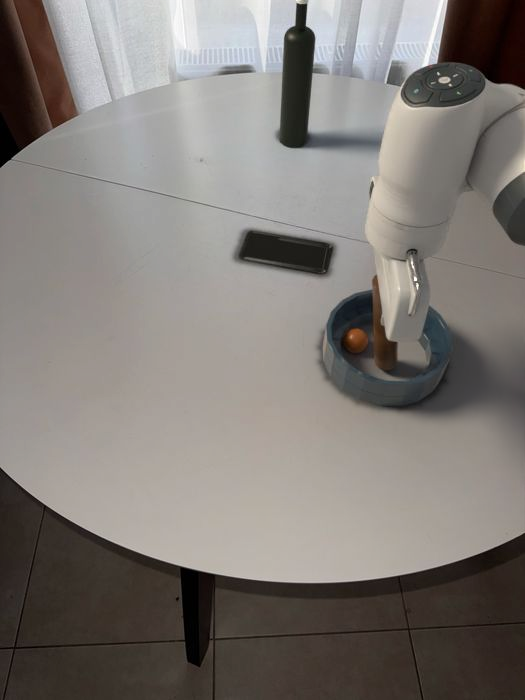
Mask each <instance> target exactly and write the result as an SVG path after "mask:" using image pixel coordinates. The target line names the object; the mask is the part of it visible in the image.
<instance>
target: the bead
mask: <svg viewBox="0 0 525 700" xmlns="http://www.w3.org/2000/svg"><path fill="white" fill-rule="evenodd" d="M342 342H343V346H344V348H345V349H346V350H347V351H348V352H350V353H353V354H359V353H362V352H363V351H365V350H366V349H367V347H368V345H369V337H368V334H367V333H366V332H365V331H364V330H363V329H360V328H357V327H356V328H354V329H351V330H349V331H348V332H347V333H346V334H345V335H344V337H343V338H342Z"/></svg>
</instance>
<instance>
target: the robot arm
mask: <svg viewBox="0 0 525 700" xmlns="http://www.w3.org/2000/svg"><path fill="white" fill-rule="evenodd" d="M377 159H378V161H377V163H378V165H377V166H378V172H379V174H377V175H375V174H374V175H372V176H371V178H370V182H369V186H368V187H369V191H368V194H369V204H368V208H367V215H366V221H365V226H364V233H365V237H366V239H367V242H368V243H369V244H370V246H372V251H373V256H374V257H373V258H374V264H375V271H376V274H377V278H378V285H379V292H380V299H381V305H382V309H381V314H380V321H381V325H382V326H385V333H386V338H387V339H388V340H389V341H394V342H398V343H413V342H417V341H418V340H419V339H420V337H421V334H422V331H423V327H424V323H425V320H426V316H427V312H428V307H429V305H430V300H431V285H430V281H429V275H428V272H427V268H426V263H425V259H428V258H431V257H433V256H435V255H436V254H437V253H439V252H440V251H441V249H442V248H443V246H444V244H445V241H446V239H447V235H448V232H449V230H450V226H451V223H452V220H453V217H454V214H455V212H456V209H457V203H458V199H459V197H460V196H461V195H462V194H464V193H466V192H474V193H475V194H476V195H477V196H478V197H479V198H480V199H481V201H482V202H483V203H484V204H485V205H486V206H487V207H488V208H489V209H490V211H491V212H492V214H493V215H494V218H495V219H496V221H497V222H498V224H499V225H500V226H501V228H502V229H503V231H504V232H505V234H506V235H507V237H508V238H509V239H510V241H511V242H512V243H514V244H515V245H519V246H523V247H525V89H523V88H521V87H520V86H518V85H516V84H513V83H508V82H503V83H501V82H500V83H494V82H492V81H491V80H488V79H487V78H486V77H485V75H484V74H483V73H482V72H481V71H480V70H478V69H477V68H476V67H474V66H472V65H469V64H466V63H461V62H453V61H452V62H451V61H449V62H448V61H447V62H438V63H433V64H428V65H425V66H422V67H421V68H419V69H416V70H415V71H414V72H411V73H410V74H409V75H408V76H407V77H406V79H405V80H404V81H403V82H402V84H401V85H400V87H399V89H398V91H397V93H396V95H395V97H394V98H393V101H392V103H391V106H390V109H389V112H388V115H387V119H386V122H385V126H384V130H383V134H382V138H381V143H380V149H379V153H378V158H377Z"/></svg>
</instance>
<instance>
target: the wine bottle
mask: <svg viewBox="0 0 525 700" xmlns="http://www.w3.org/2000/svg"><path fill="white" fill-rule="evenodd" d="M295 3H296V4H295V18H294V19H295V21H294V25H293V26H291V27H289V28H287V30H286V31H285V33H284V36H283V53H282V71H281V73H282V74H281V94H280V96H281V97H280V117H279V118H280V119H279V120H280V121H279V142H280V144H281V145H283V146H284V147H287V148H294V149H295V148H301V147H303V146H304V145H306V143H307V141H308V133H309V132H308V131H309V121H310V120H309V119H310V111H311V110H310V108H311V98H312V97H311V96H312V95H311V94H312V87H313V86H312V84H313V75H314V74H313V73H314V64H315V63H314V61H315V50H316V35H315V34H316V33H315V32H314V31H313V29H312V28H310V27H309V26H307V16H308V3H309V0H295Z"/></svg>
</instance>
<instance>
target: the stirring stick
mask: <svg viewBox="0 0 525 700" xmlns="http://www.w3.org/2000/svg"><path fill="white" fill-rule="evenodd" d="M371 290H372V294H373V323H372V324H373V348H374V349H373V354H374V356H373V357H374V359H373V360H374V365H375V366H376V368H378V369H380V370H383V371H390V370H393V369H395V367H396V366H397V364H398V360H399V359H398V358H399V357H398V356H399V355H398V353H399V350H398V349H399V342H394V341H389V340H388V339H387V338H386V333H385V326H382V325H381V321H380V314H381V309H382V305H381V299H380V292H379V285H378V278H377V273H376V274H375V275H374V276H373V277H372V280H371Z"/></svg>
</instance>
